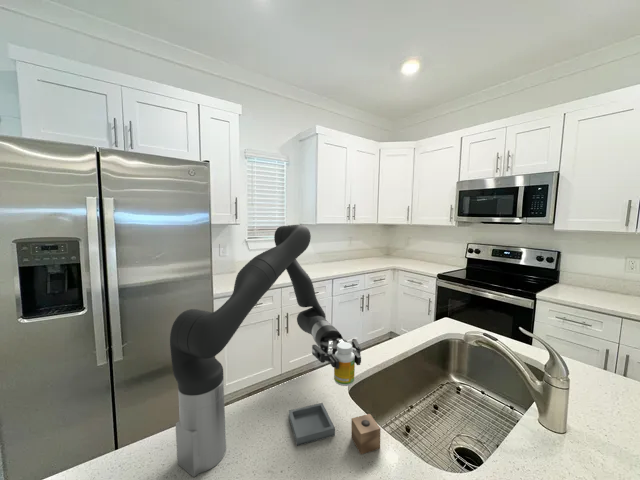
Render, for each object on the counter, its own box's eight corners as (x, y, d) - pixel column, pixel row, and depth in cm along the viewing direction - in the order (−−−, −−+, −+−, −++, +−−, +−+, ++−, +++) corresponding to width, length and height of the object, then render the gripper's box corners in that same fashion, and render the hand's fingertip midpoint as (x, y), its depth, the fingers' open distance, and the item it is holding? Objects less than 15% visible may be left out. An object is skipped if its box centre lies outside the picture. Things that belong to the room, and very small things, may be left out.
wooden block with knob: (360, 454, 61) (361, 433, 61) (351, 437, 66) (351, 418, 65) (380, 448, 63) (380, 428, 62) (369, 432, 67) (369, 413, 67)
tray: (297, 446, 63) (297, 438, 63) (288, 417, 72) (288, 410, 72) (335, 435, 66) (335, 427, 66) (322, 409, 75) (322, 402, 75)
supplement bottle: (353, 388, 68) (354, 351, 68) (332, 385, 69) (332, 349, 69) (355, 376, 74) (355, 341, 73) (335, 373, 75) (335, 339, 74)
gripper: (304, 327, 82) (322, 353, 66) (347, 322, 87) (374, 345, 71) (304, 351, 83) (321, 382, 67) (346, 344, 87) (373, 372, 71)
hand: (348, 363), depth 69 cm, fingers closed on supplement bottle, 5 cm apart
